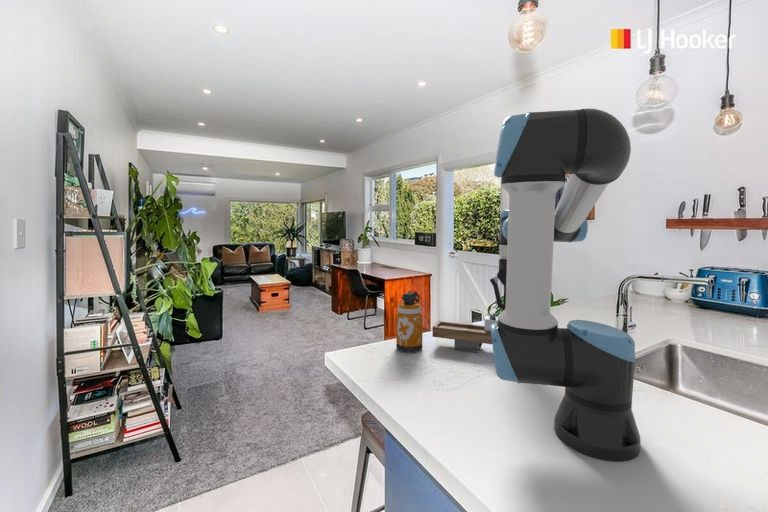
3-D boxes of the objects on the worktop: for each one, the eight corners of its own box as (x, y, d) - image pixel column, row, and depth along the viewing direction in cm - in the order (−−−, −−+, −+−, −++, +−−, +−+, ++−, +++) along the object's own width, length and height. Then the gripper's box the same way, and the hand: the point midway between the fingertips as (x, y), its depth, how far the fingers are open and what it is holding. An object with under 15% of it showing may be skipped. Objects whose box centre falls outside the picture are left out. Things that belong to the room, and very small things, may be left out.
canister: (391, 351, 123) (391, 293, 121) (405, 341, 132) (405, 287, 130) (416, 355, 119) (416, 295, 117) (428, 345, 128) (428, 289, 126)
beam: (501, 357, 116) (502, 334, 115) (432, 347, 125) (432, 326, 125) (503, 349, 124) (504, 327, 123) (438, 340, 133) (438, 320, 132)
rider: (498, 335, 118) (499, 316, 117) (484, 333, 119) (484, 314, 119) (500, 331, 122) (500, 312, 121) (486, 330, 124) (486, 311, 123)
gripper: (533, 257, 117) (531, 328, 119) (491, 256, 122) (490, 323, 124) (532, 259, 110) (530, 335, 112) (488, 258, 115) (487, 330, 118)
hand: (509, 329), depth 118 cm, fingers closed
